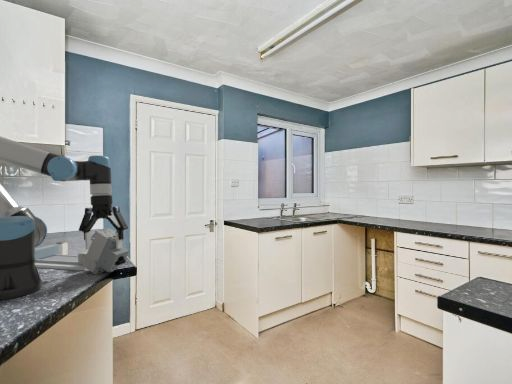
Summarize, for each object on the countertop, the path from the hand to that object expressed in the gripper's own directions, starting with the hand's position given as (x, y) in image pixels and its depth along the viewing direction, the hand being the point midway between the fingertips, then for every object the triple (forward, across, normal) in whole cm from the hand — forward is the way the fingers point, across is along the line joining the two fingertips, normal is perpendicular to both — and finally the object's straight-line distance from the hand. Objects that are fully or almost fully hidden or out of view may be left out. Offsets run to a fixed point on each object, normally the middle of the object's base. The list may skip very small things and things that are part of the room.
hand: (104, 248), depth 110 cm
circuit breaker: (+9, +2, 0) cm, 9 cm away
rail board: (+8, +25, -8) cm, 28 cm away
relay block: (+7, +41, -20) cm, 46 cm away
